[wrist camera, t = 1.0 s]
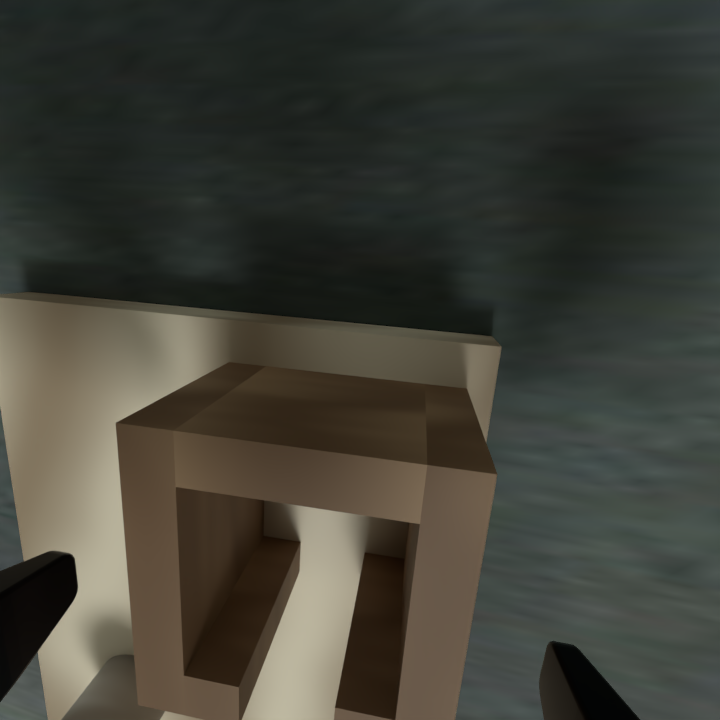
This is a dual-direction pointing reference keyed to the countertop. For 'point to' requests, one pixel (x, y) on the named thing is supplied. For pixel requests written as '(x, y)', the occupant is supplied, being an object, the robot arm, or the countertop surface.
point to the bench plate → (103, 490)
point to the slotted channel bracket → (282, 557)
